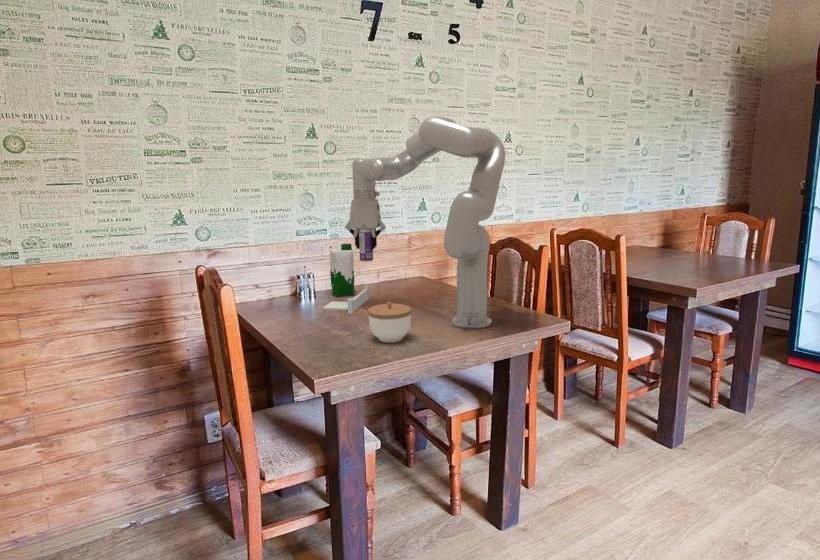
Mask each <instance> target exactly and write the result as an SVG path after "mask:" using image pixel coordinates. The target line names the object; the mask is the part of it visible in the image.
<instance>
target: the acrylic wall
mask: <svg viewBox="0 0 820 560" xmlns="http://www.w3.org/2000/svg"><path fill="white" fill-rule="evenodd" d="M369 300H370V286H369V285H364V286H363V290H362V291H360V292H359V293H357V295H354V296H353V298H347V300H346V302H347V304H348V310H347V314H348V315H349V314H354V312H355V311H357V310H358V309H359V308H361V306H362V305H364V304H365V303H366V302H368V301H369Z"/></svg>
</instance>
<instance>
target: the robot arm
mask: <svg viewBox="0 0 820 560" xmlns="http://www.w3.org/2000/svg"><path fill="white" fill-rule="evenodd" d="M405 145H406V148H404V149H403V151H401V152H400V153H397V154H396V155H394V156H391V157H375V158H373V157H372V158H355V159H353V161H352V166H351V167H352V187H353V188H352V192H353V194H352V195H353V199H351V201H350V209H349V210H350V213H349V220H348V221H347V223H346V225H345V226H344V228H345V229H346V230H347V231H348V232H349V233H351V235H352V236H353V237H354V247H356V248H355V249H356V250H358V249H359V229H360V228H361V226H362V224H365V225H366V227H367V228H368V229H370V230H371V233H372V238H371V249H373V250H374V249H375V248H376V247H377V245H378V244H377V243H378V240H377V237H378V236H379V235H380V233H382V232H383V231H385V230H386V228H387V227H386V225H385V224H384V222H383V221H382V219H381V218H382V216H381V208H380V203H379V199H377V197H380V192H379V191H377V190H376V182H384V181H395V180H398V179H400V178H402V177H405V176H406V175H407V174H410V173H411V172H412V171H414V170H416V169H417V168H418V167H419V166H420V165H421V164H422V162H424V161H425V160H427V159H429V158H432V156H434V155H436V154H437V153H439V152H441V151H442V152H445V153H448V154H451V155H453V156H457V157H460V158H465V159H468V158H469V159H472V158H474V159H475V158H476V159H477V163H476V165H475V167H474V170H473V171H472V175H471V180H470V184H469V188H468V190H466V191H462V192H460V193H459V194H458V195H457V196H455V198H454V199H453V201H452V202H451V206H450V209H449V213H448V218H447V222H446V225H445V227H446V228H445V232H444V238H443V246H444V249H445V250H444V251H445V252H446V253H447V254H448V256H449V257H451V258H452V259H454V260H457V262H456V316H454V317H453V318H452V319H451V324H452V325H454V326H455V327H458V328H462V329H482V328H486V327H490V325H492V322H493V321H492V320H493V319H492V318H490V317H488V314H487V313H488V263H489V262H488V261H489V253H490V246H491V245H490V243H491V240H490V238H491V237H490V234H489V232H488V230H487V228H485V226H484V225H483V226H482V225H481V224H479V223H480V222H483V221H486V220H487V219H488V220H489V218H490V217H491V216H492V215H493V213H494V210H495V205H496V203H497V202H496V201H497V198H498V194H499V189H500V183H501V179H502V176H503V171H504V168H505V163H506V162H505V161H506V150H505V149H506V148H505V147H504V143H503V142H502V140H501V139H500V137H499V136H498V135H497V134H495V133H494V132H493V131H491V130H489V129H486V128H481V127H471V126H464V125H462V124H458V123H457V122H456V121H455V120H453V119H452V118H448V117H445V116H429V117H428V118H427V117H426V119H424V120H423V121H422V122H421V124H420V126H419V129H418V131H417V132H416V133H414V134H412V135H410V136H409V137H408V138H407V139H406V142H405ZM377 228H378V229H377Z"/></svg>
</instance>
